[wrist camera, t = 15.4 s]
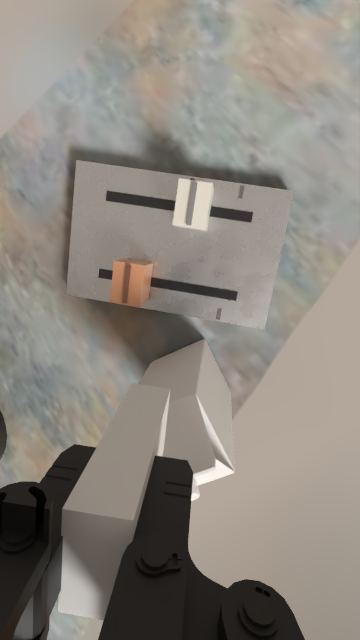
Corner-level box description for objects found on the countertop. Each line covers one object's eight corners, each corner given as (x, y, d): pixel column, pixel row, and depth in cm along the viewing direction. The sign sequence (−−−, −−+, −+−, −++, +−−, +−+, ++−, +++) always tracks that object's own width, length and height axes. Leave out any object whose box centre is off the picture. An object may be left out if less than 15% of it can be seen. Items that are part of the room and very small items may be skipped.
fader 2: (177, 227, 35) (171, 224, 31) (183, 185, 34) (178, 177, 30) (206, 231, 35) (205, 230, 31) (213, 189, 34) (212, 182, 30)
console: (73, 292, 40) (65, 294, 38) (83, 164, 37) (75, 159, 35) (262, 325, 38) (264, 329, 36) (290, 193, 35) (294, 190, 33)
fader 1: (121, 295, 37) (108, 302, 33) (125, 258, 36) (113, 260, 32) (148, 300, 37) (139, 307, 33) (153, 263, 36) (144, 265, 32)
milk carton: (150, 361, 41) (93, 458, 23) (204, 337, 40) (190, 420, 21) (177, 412, 42) (142, 544, 24) (230, 390, 41) (238, 513, 22)
